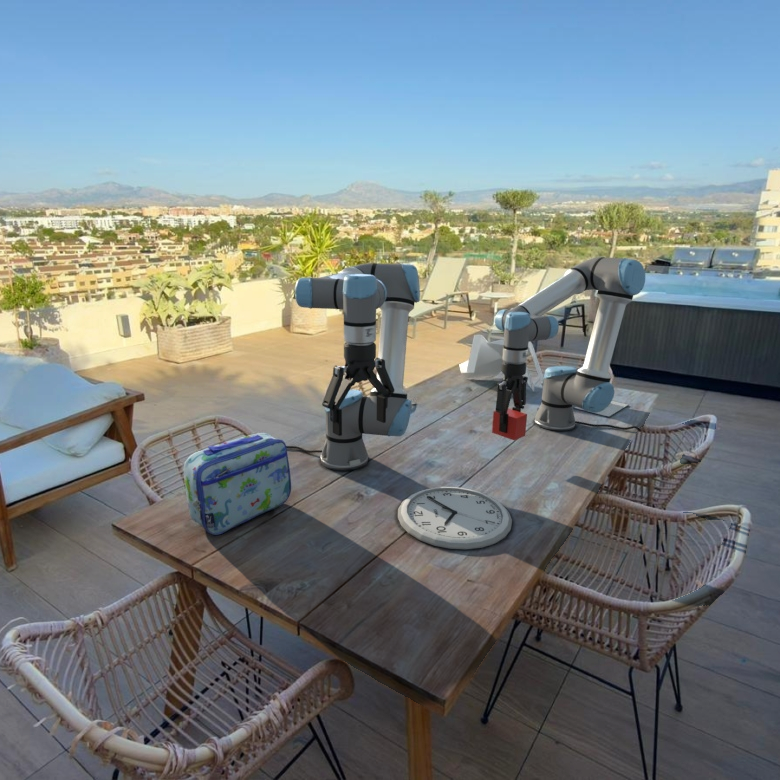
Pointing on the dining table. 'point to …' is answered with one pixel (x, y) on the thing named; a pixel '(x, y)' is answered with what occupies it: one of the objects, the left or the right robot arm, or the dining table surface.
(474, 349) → the white plastic object
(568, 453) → the dining table surface
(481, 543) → the wall clock
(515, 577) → the dining table surface
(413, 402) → the fork
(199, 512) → the lunch box
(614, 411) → the invitation card
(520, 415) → the block
